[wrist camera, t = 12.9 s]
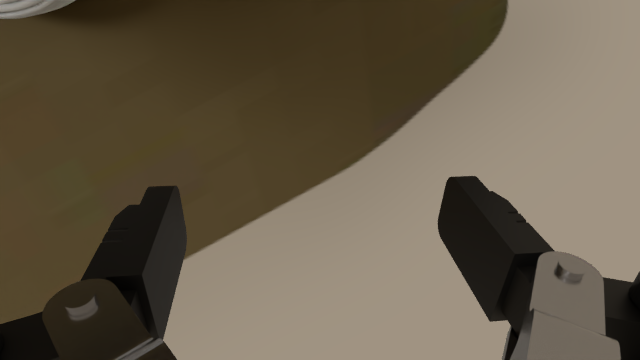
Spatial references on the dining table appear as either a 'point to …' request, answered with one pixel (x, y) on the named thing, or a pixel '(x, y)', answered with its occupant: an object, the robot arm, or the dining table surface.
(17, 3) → the cable
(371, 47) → the dining table surface
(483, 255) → the robot arm
